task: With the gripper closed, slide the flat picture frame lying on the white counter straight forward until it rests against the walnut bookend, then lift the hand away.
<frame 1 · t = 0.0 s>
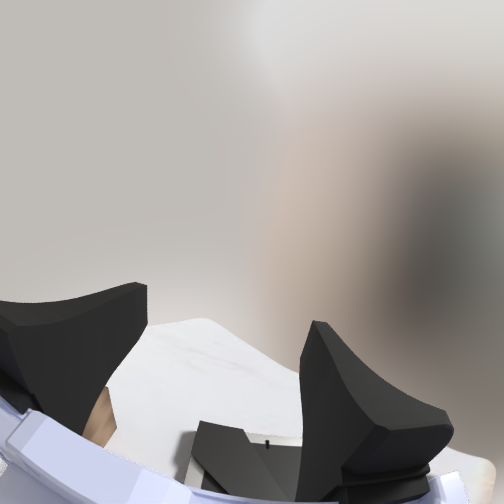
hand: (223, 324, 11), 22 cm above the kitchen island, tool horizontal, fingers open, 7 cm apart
walnut bookend: (83, 455, 17), on the kitchen island
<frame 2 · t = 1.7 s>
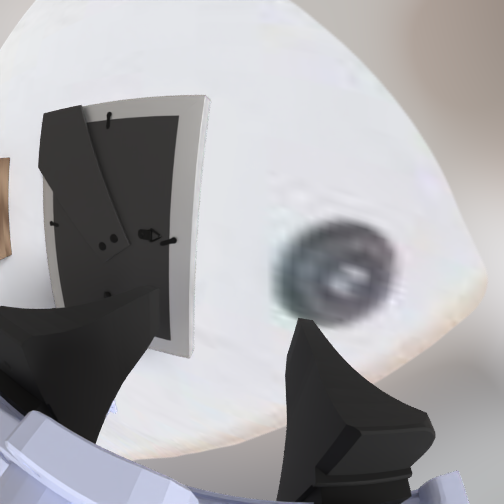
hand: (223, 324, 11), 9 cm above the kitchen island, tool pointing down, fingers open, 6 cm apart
walnut bookend: (3, 206, 22), on the kitchen island
picture frame: (116, 225, 21), on the kitchen island
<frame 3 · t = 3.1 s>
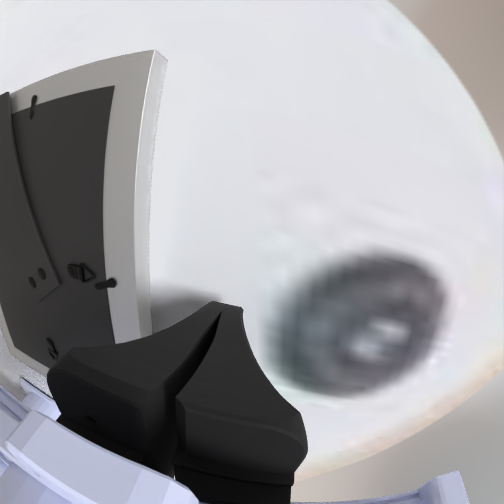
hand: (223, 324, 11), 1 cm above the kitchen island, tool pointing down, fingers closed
picture frame: (54, 250, 14), on the kitchen island
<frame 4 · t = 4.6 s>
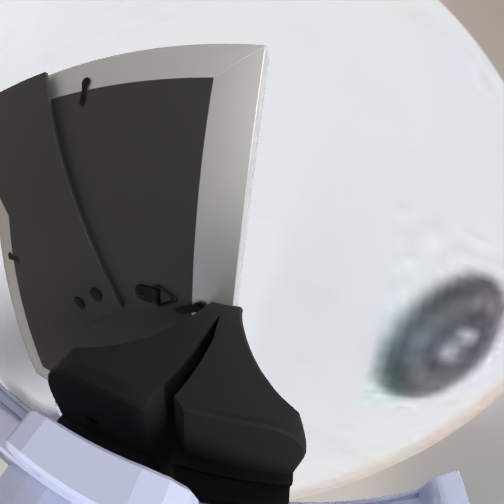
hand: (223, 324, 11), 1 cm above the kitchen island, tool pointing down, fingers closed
picture frame: (101, 263, 13), on the kitchen island, touching gripper
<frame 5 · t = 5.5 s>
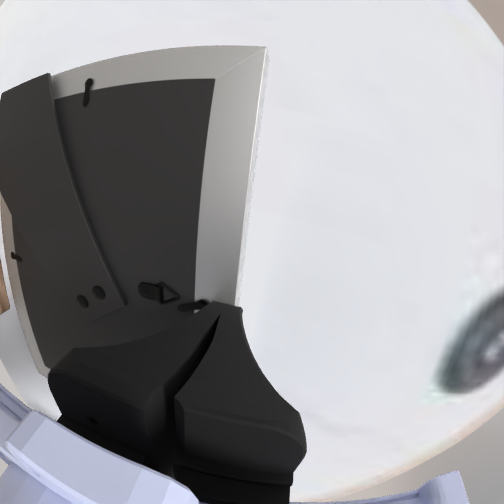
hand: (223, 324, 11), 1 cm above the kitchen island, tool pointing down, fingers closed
picture frame: (104, 262, 14), on the kitchen island, touching gripper
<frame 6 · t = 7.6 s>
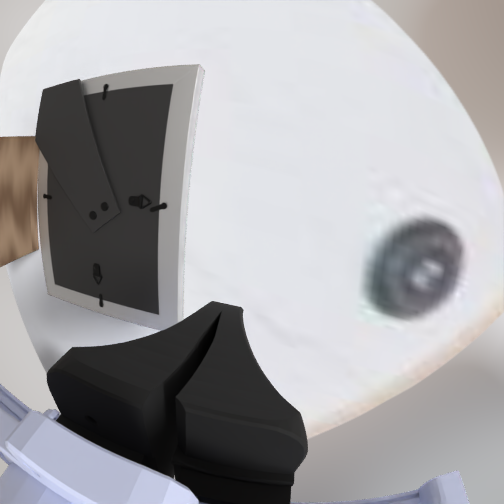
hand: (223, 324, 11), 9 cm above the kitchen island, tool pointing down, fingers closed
walnut bookend: (29, 193, 21), on the kitchen island
picture frame: (109, 196, 21), on the kitchen island
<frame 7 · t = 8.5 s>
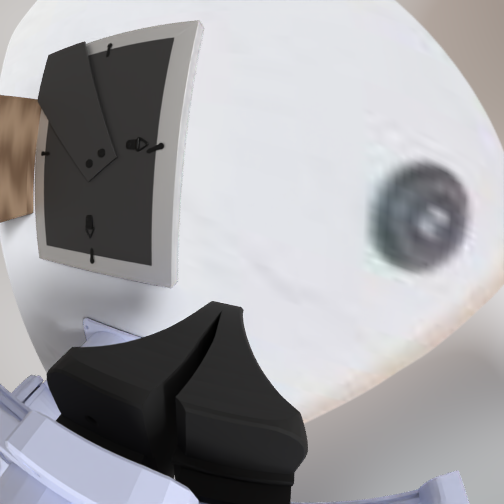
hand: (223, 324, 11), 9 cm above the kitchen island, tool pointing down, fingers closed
walnut bookend: (28, 156, 20), on the kitchen island
picture frame: (106, 149, 20), on the kitchen island
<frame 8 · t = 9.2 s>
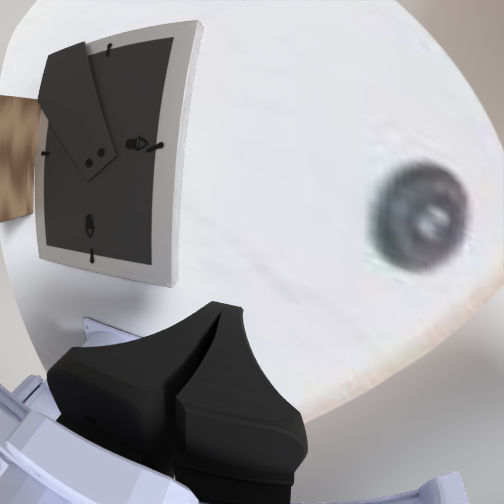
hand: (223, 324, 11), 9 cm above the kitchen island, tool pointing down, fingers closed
walnut bookend: (28, 156, 20), on the kitchen island
picture frame: (106, 149, 20), on the kitchen island
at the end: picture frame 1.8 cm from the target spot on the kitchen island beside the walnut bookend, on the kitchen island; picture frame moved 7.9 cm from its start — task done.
